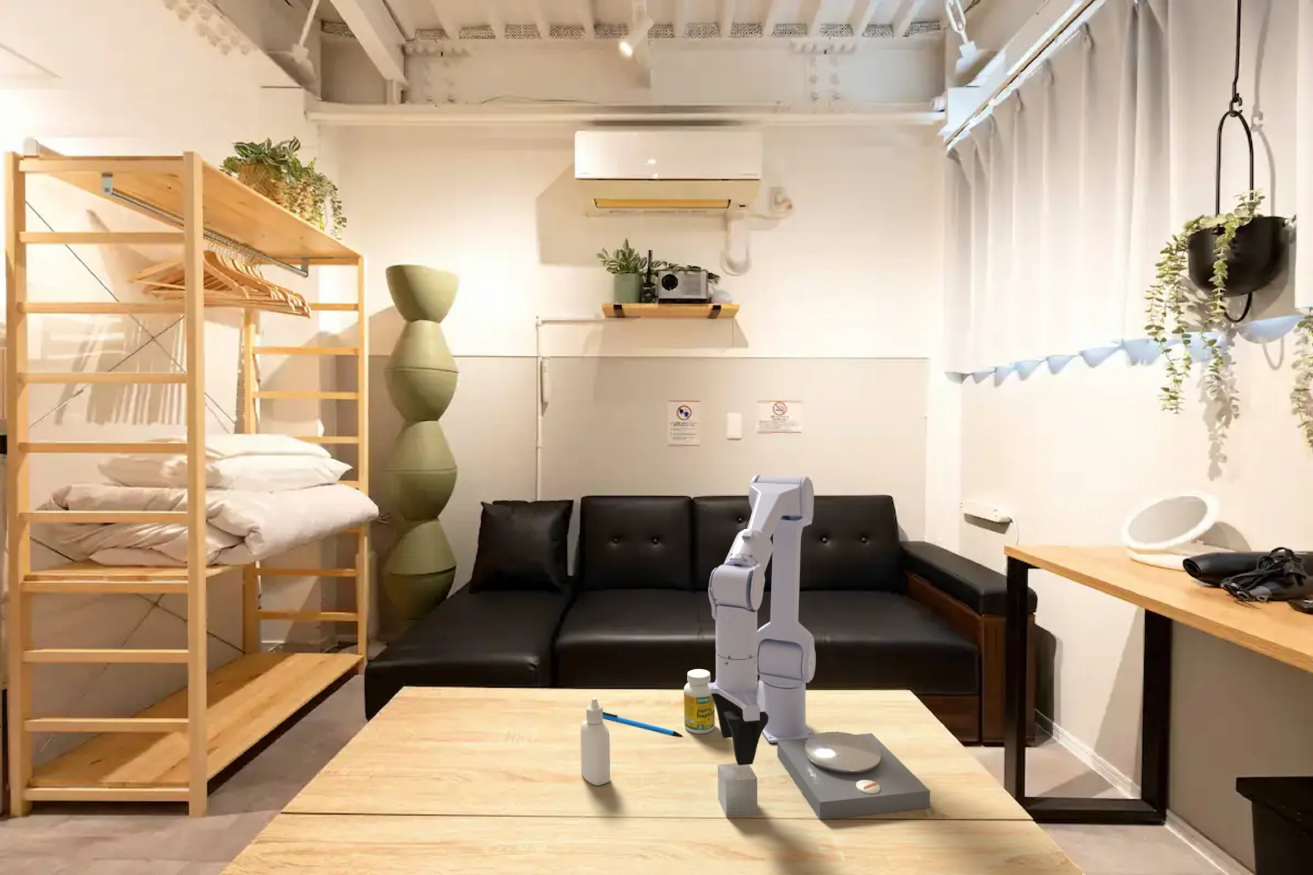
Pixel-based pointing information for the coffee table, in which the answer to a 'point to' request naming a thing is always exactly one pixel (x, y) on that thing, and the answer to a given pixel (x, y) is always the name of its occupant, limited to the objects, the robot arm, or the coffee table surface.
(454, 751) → the coffee table surface
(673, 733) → the pen
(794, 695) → the robot arm
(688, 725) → the supplement bottle
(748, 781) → the block
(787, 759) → the scale base
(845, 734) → the pan
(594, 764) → the eye dropper bottle
